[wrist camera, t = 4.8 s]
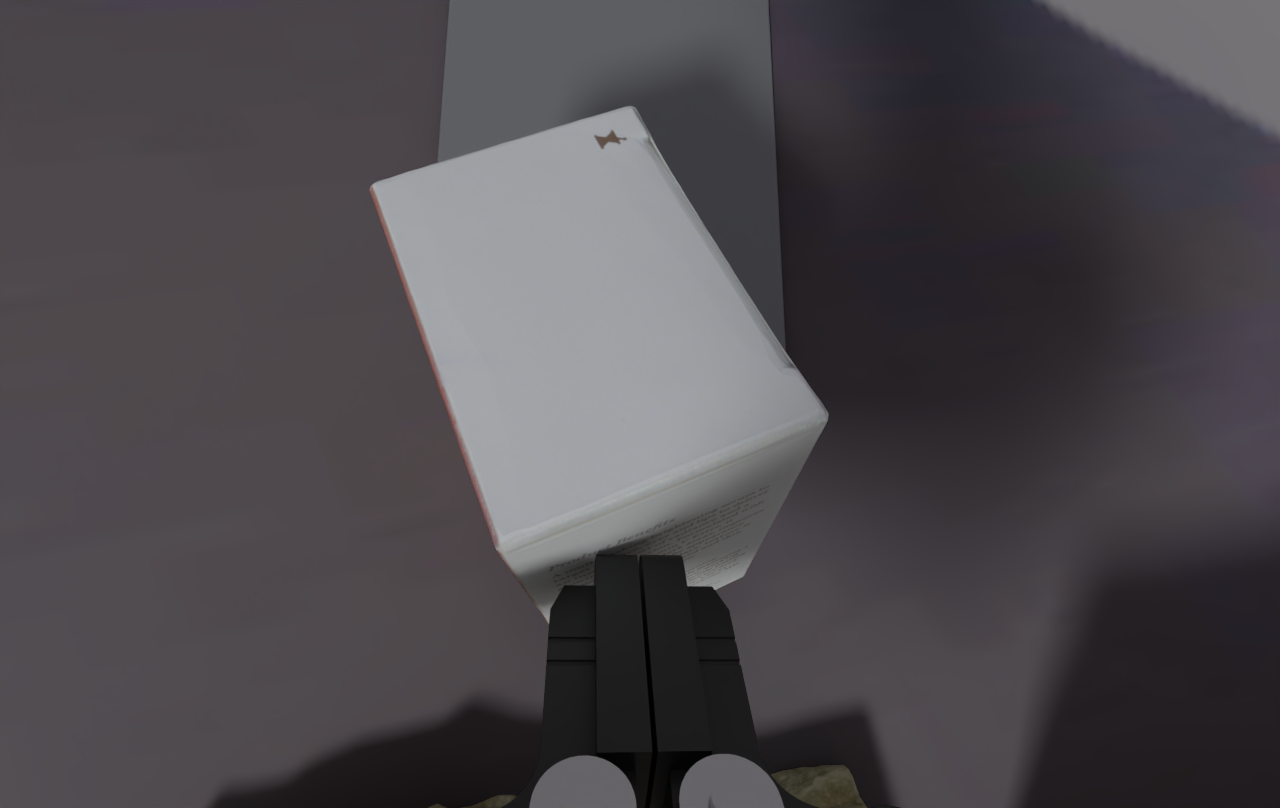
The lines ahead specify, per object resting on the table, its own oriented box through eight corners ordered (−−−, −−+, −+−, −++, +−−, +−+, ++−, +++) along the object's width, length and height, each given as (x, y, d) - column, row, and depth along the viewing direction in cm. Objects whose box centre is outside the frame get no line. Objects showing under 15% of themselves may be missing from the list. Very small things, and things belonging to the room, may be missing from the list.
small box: (479, 421, 22) (358, 173, 13) (638, 361, 23) (632, 91, 14) (566, 663, 19) (487, 559, 10) (749, 580, 20) (839, 413, 11)
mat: (425, 348, 23) (423, 346, 22) (455, -53, 26) (454, -60, 26) (783, 359, 24) (786, 356, 24) (764, -28, 27) (766, -34, 27)
